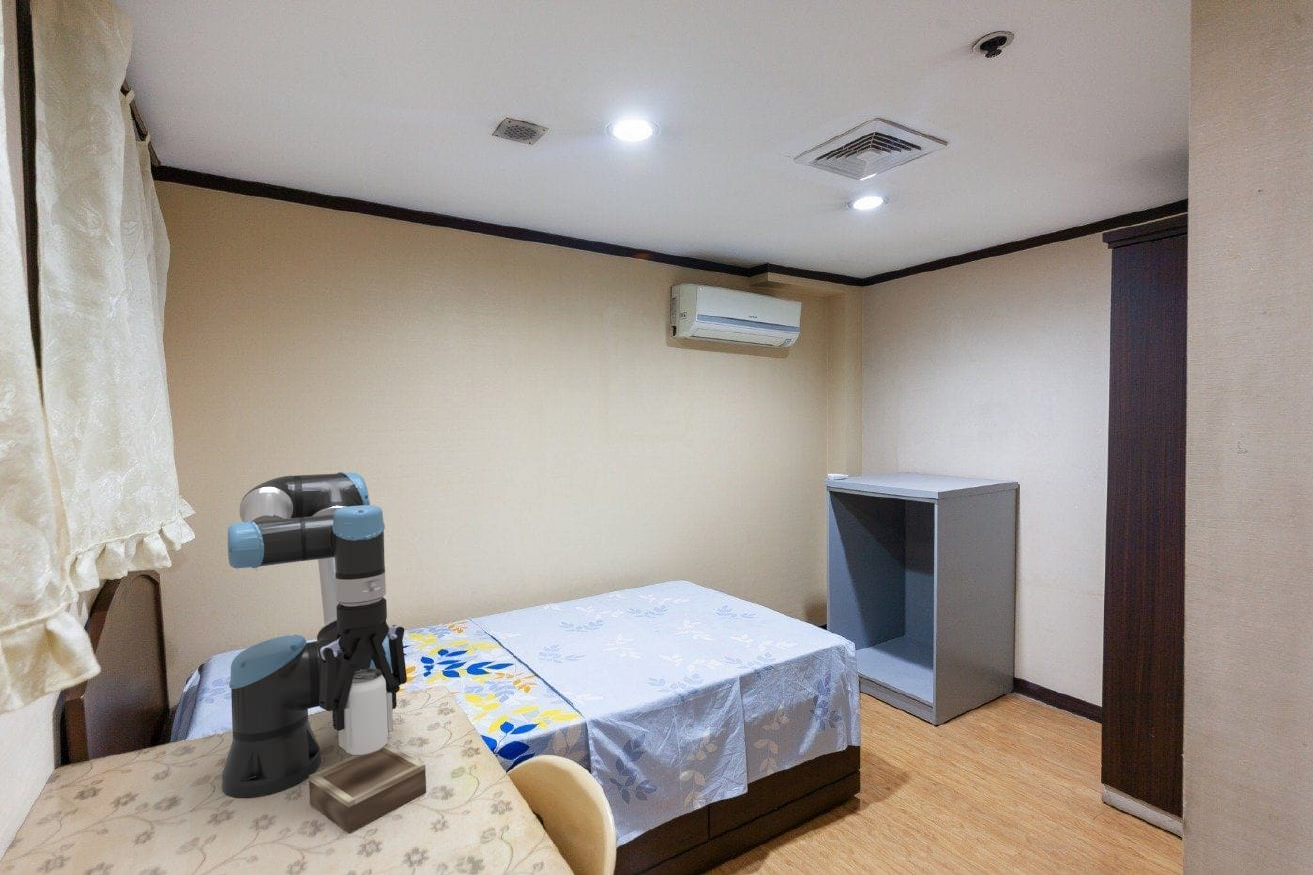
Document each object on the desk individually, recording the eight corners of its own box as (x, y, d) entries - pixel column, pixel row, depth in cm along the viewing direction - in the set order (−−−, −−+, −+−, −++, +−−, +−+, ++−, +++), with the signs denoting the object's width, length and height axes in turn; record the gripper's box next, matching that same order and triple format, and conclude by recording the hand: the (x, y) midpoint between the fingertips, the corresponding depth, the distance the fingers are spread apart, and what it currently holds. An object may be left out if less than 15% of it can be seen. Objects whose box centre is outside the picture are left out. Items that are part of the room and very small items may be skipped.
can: (371, 758, 101) (368, 684, 101) (336, 755, 102) (333, 682, 102) (396, 738, 107) (393, 668, 107) (362, 736, 108) (359, 666, 108)
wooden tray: (310, 804, 104) (308, 775, 104) (385, 768, 114) (384, 742, 114) (349, 833, 96) (348, 802, 96) (426, 792, 106) (425, 764, 106)
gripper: (311, 618, 94) (316, 771, 95) (426, 590, 110) (431, 721, 110) (289, 611, 99) (294, 756, 99) (403, 584, 114) (407, 710, 115)
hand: (366, 738), depth 105 cm, fingers closed on can, 6 cm apart
